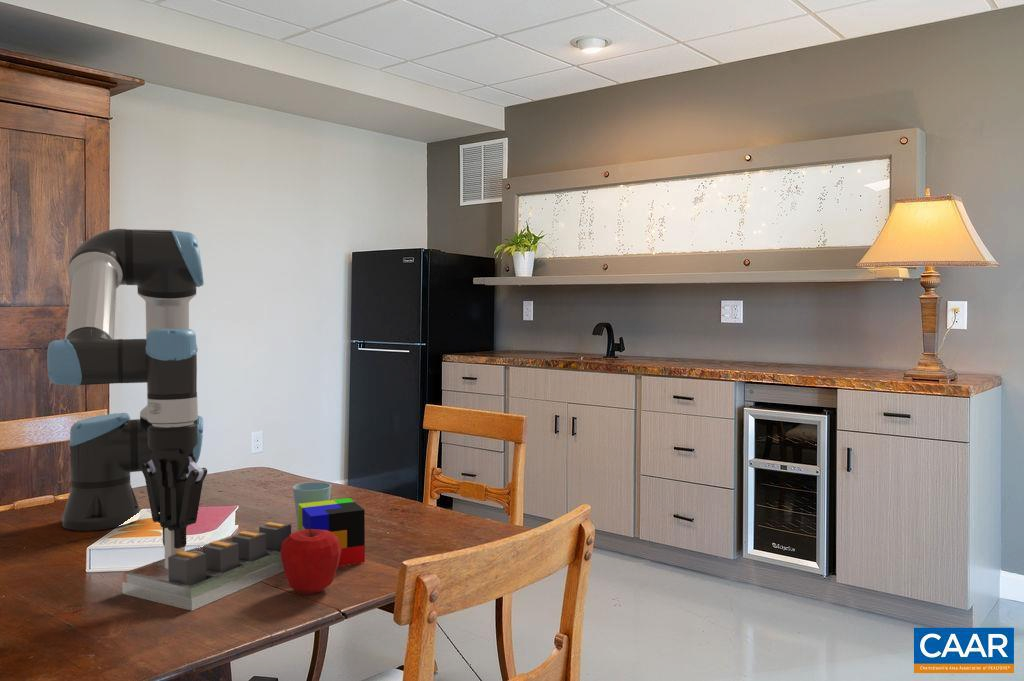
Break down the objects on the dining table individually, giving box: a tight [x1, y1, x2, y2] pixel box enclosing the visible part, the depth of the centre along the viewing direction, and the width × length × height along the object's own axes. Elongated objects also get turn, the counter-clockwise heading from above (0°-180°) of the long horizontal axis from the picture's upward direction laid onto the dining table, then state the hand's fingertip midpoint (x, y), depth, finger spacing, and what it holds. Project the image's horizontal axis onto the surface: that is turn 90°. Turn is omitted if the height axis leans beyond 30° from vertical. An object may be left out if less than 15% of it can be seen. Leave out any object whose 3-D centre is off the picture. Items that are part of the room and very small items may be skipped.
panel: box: [121, 532, 284, 612], centre depth 138 cm, size 16×26×4 cm, turn 154°
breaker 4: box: [258, 521, 292, 551], centre depth 145 cm, size 4×4×5 cm
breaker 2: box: [202, 539, 239, 573], centre depth 133 cm, size 4×4×5 cm
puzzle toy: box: [297, 497, 366, 567], centre depth 149 cm, size 10×10×10 cm
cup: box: [292, 481, 332, 526], centre depth 163 cm, size 8×8×10 cm
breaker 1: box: [168, 549, 206, 586], centre depth 128 cm, size 4×4×5 cm
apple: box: [280, 528, 342, 595], centre depth 132 cm, size 10×10×11 cm
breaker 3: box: [231, 530, 266, 562], centre depth 139 cm, size 4×4×5 cm
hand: (174, 566), depth 129 cm, fingers closed
